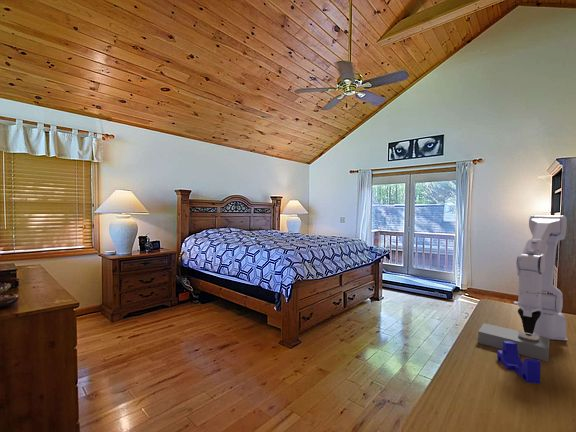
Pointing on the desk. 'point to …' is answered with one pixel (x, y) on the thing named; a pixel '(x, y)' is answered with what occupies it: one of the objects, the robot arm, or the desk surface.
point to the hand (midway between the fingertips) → (528, 332)
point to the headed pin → (528, 336)
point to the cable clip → (519, 363)
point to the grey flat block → (499, 334)
